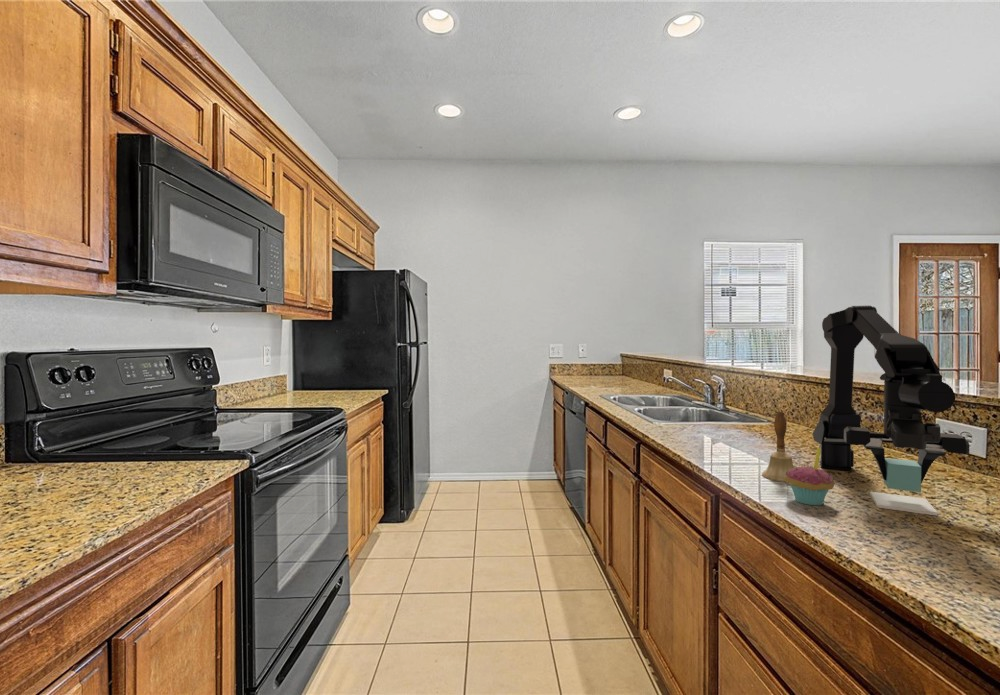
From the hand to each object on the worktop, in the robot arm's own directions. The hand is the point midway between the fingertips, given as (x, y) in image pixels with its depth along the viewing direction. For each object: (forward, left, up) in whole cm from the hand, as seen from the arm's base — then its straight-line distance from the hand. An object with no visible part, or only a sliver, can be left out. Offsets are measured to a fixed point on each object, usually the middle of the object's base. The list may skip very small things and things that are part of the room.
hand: (901, 481), depth 96 cm
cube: (0, 0, -1) cm, 1 cm away
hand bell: (-21, +10, -5) cm, 24 cm away
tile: (0, 0, -4) cm, 5 cm away
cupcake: (-16, -7, -5) cm, 18 cm away
